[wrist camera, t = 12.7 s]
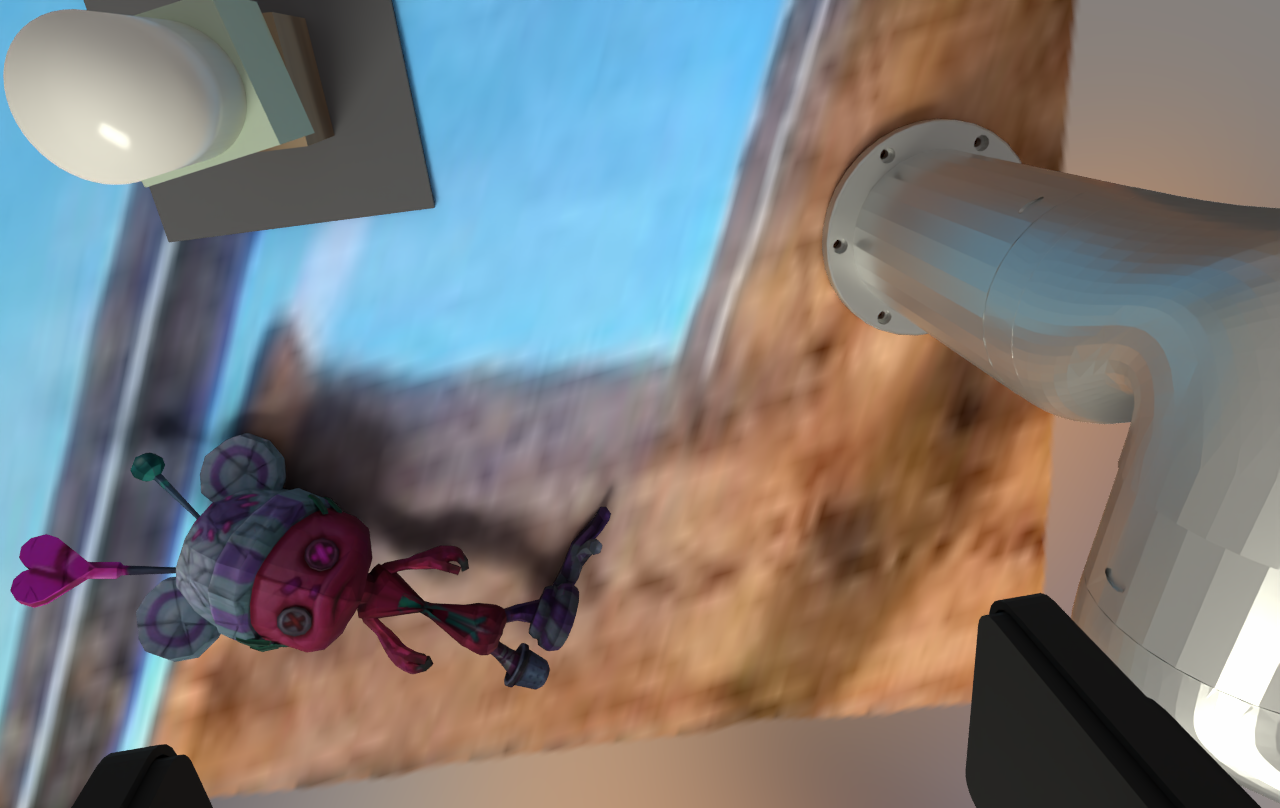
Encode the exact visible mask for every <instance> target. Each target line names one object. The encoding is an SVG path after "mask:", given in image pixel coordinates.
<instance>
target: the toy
mask: <svg viewBox="0 0 1280 808" xmlns="http://www.w3.org/2000/svg"><path fill="white" fill-rule="evenodd" d="M164 466H165V464H164V461H163V458H161V457H159V456H158V455H156V454H153V453H145V454H142V455H140V456H138V457H136V458H135V460H134V463H133V465H132V468H131V472H132V474H133V476H134V477H135V478H137V479H140V480H142V481H151V480H155V481H156V482H157V483H158V484H159V485H160V486H161V487H162V488H163V489H165V490H166V491H167V492H168V493H169V494H170V495H171V496H172V497H173V498H174V499H176V500H177V501H178V502H179V503H180V504H181V505H182V506H183V507H184V508H185V509H186V510H188V511H189V512H190V513H191V514H192V515H193V516H194V517H195V518H196V519H197V520H196V521H195V522H194V524H193V526H192V528H191V529H190V531H189V533H188V534H187V536H186V538H185V540H184V543H183V547H182V550H181V553H180V556H179V559H178V562H177V566H176V568H175V567H149V566H124V565H122V564H121V563H120V562H87V561H86V560H85V559H84V558H82V557H81V556H80V555H79V554H77V553H76V552H75V551H74V550H72V549H71V548H70V547H69V546H67V545H66V544H65V543H64V542H62V541H61V540H60V539H59V538H57V537H53V536H50V535H47V534H46V535H42V536H38V537H34V538H31V539H30V540H29V541H27V542H26V543H25V544H24V545H23V546H22V547H21V551H20V556H19V558H20V560H21V561H22V563H23V564H24V565H25V566H26V567H27V568H28V569H29V570H26V571H23V572H22V573H20V574H19V575H18V576H17V577H16V578H15V579H14V580H13V583H12V587H11V590H10V591H11V593H12V594H13V596H14V597H15V599H16V600H17V601H18V602H19V603H21V604H24V605H27V606H31V607H34V608H35V607H38V606H42V605H45V604H48V603H50V602H51V601H53V600H55V599H56V598H58V597H60V596H61V595H63V594H64V593H66V592H68V591H69V590H71V589H72V588H74V587H76V586H77V585H79V584H80V583H82V582H84V581H85V580H87V579H117V578H118V577H120V576H121V575H140V574H166V573H176V577H170V578H167V579H165V580H163V581H162V582H161V583H160V584H158V585H157V586H156V587H155V588H154V589H153V590H152V591H151V592H149V593H148V594H147V595H146V597H145V598H144V600H143V602H142V603H141V605H140V607H139V608H138V610H137V612H136V615H137V625H138V635H139V640H140V642H141V644H142V646H143V648H144V650H145V651H146V652H149V653H152V654H154V655H157V656H160V657H163V658H166V659H168V660H171V661H174V662H176V661H182V660H187V659H193V658H198V657H200V656H201V655H202V654H203V653H204V652H205V651H206V650H207V649H208V648H209V647H210V646H211V645H212V644H213V643H214V642H215V641H216V640H217V639H218V638H219V636H220V634H223V635H225V636H227V637H229V638H232V639H234V640H237V641H238V642H240V643H242V644H245V645H248V646H250V648H252V649H255V650H258V651H261V652H264V651H269V650H273V649H278V648H279V647H292V648H295V649H298V650H301V651H305V652H313V651H319V650H325V649H326V648H327V647H328V646H329V645H330V644H331V643H332V642H333V641H334V640H336V639H337V638H338V637H339V636H340V635H341V634H342V633H343V631H344V629H345V628H346V626H347V624H348V622H349V621H350V619H351V618H352V616H353V615H354V613H355V611H356V609H357V611H358V616H359V618H362V620H363V622H364V623H365V624H366V625H367V626H368V627H369V628H370V629H371V630H372V631H373V632H375V633H376V635H377V636H378V638H379V640H380V642H381V644H382V646H383V648H384V650H385V652H386V653H387V655H388V657H389V658H390V659H391V661H392V662H393V663H394V664H395V665H396V666H397V667H399V668H400V669H402V670H403V671H405V672H408V673H410V674H416V673H420V672H424V671H426V670H427V669H429V668H430V667H431V666H432V665H433V662H432V660H431V658H430V656H426V655H425V654H423V653H418V652H416V651H414V650H412V649H410V648H408V647H406V646H405V645H404V644H403V643H402V642H401V641H400V639H399V638H398V637H397V636H396V635H395V634H394V633H393V632H392V631H391V630H390V629H389V628H387V627H386V626H385V625H384V624H383V623H382V622H381V621H380V620H379V619H378V618H383V617H390V616H397V615H404V614H411V613H418V612H420V613H422V614H424V615H425V616H427V617H429V618H430V619H432V620H433V621H434V622H435V623H436V624H437V625H439V626H440V627H441V628H442V629H443V630H444V631H445V632H447V633H448V634H449V635H450V636H451V637H452V638H454V639H455V640H456V641H457V642H458V643H459V644H461V645H462V646H464V647H466V648H468V649H469V650H471V651H473V652H475V653H477V654H479V655H489V654H491V655H493V656H494V657H495V658H496V659H497V660H498V661H499V662H500V663H501V665H502V666H503V667H504V668H505V670H506V671H507V672H506V675H505V679H504V683H505V685H506V686H508V687H513V686H514V685H517V686H522V687H526V688H531V689H538V688H540V687H542V686H543V685H544V684H545V682H546V680H547V678H548V675H549V671H550V668H549V665H548V662H547V661H546V660H545V659H543V658H542V657H540V656H539V655H537V654H535V653H534V652H532V651H531V650H529V645H527V644H525V643H521V645H520V646H519V647H518V648H517V650H516V651H515V650H513V649H510V648H509V647H507V646H506V645H504V644H502V643H501V642H499V640H500V637H501V636H502V634H503V629H504V627H505V624H506V623H508V622H512V621H523V622H529V623H531V624H530V628H529V634H530V635H531V636H532V637H533V638H535V639H537V640H538V645H539V646H540V647H542V648H543V649H545V650H547V651H554V650H559V649H560V648H561V647H562V646H563V644H564V643H565V641H566V639H567V638H568V636H569V633H570V631H571V628H572V626H573V623H574V619H575V616H576V612H577V608H578V603H579V591H578V588H577V587H575V586H574V584H575V583H576V581H577V580H578V578H579V575H580V572H581V569H582V566H583V565H584V564H585V562H586V561H587V560H588V559H589V557H590V556H591V555H592V554H593V555H595V554H598V553H600V552H601V549H602V544H601V543H600V542H599V541H598V540H597V539H595V538H596V537H597V536H598V535H599V534H600V532H601V531H602V530H603V528H604V527H605V525H606V524H607V522H608V521H609V519H610V515H611V513H610V511H609V510H608V509H607V507H600V508H599V510H598V512H597V513H596V515H595V517H594V518H593V519H592V520H591V521H590V522H589V524H588V525H587V526H586V527H585V528H584V529H583V530H582V531H581V532H580V534H579V535H578V536H577V537H576V538H575V540H574V541H573V542H572V544H571V546H570V549H569V551H568V553H567V556H566V558H565V562H564V564H563V566H562V568H561V570H560V572H559V574H558V576H557V578H556V580H555V582H554V584H553V585H552V586H548V587H545V589H544V591H543V593H542V595H541V597H540V599H539V600H535V601H531V602H526V603H522V604H517V605H514V606H511V607H508V608H505V609H503V608H502V607H500V606H498V605H493V604H484V603H475V604H467V605H457V604H437V603H429V602H426V601H424V600H423V599H422V598H421V597H420V596H419V595H418V594H417V593H416V592H415V591H414V590H413V589H412V588H411V587H410V586H409V585H408V584H407V583H406V582H405V581H404V580H403V578H402V577H401V576H400V575H399V574H398V573H397V572H398V571H402V570H408V569H439V570H442V571H446V572H449V573H453V574H456V575H458V574H459V571H460V569H461V570H462V572H463V571H465V570H467V569H469V566H468V559H467V558H466V556H465V555H464V553H463V552H462V550H461V549H460V548H458V547H455V546H437V547H435V548H432V549H430V550H427V551H424V552H421V553H418V554H415V555H413V556H411V557H409V558H405V559H400V560H395V561H391V562H386V563H384V564H382V565H380V564H378V565H376V566H375V567H374V568H373V569H372V571H371V572H370V573H368V572H369V568H370V565H371V561H372V551H371V542H370V533H369V528H368V527H366V526H365V525H364V524H363V523H362V522H361V521H360V520H359V519H358V518H357V517H355V516H352V515H350V514H347V513H345V512H342V510H341V509H340V508H339V507H338V506H337V505H336V504H335V502H334V501H333V500H331V499H330V498H327V497H324V498H322V497H320V496H317V495H315V494H312V493H310V492H307V491H305V490H302V489H300V488H296V489H293V490H287V489H283V485H284V483H285V480H286V469H285V459H284V457H283V456H282V455H281V453H280V452H279V451H278V450H277V449H276V447H275V446H274V445H273V444H272V443H271V441H270V440H267V439H264V438H261V437H258V436H255V435H252V434H249V433H245V434H242V435H239V436H236V437H232V438H230V439H227V440H226V441H224V442H223V443H222V444H220V445H219V446H218V447H217V448H215V449H214V450H213V451H211V452H210V453H209V454H208V455H206V456H205V458H204V462H203V465H202V469H201V472H200V480H201V493H202V494H203V495H204V496H206V497H207V498H208V499H210V500H211V501H212V502H213V503H212V504H211V505H210V506H209V507H208V508H207V509H206V510H205V511H204V513H203V514H202V515H201V516H200V515H199V514H198V513H197V512H196V511H195V510H194V509H193V508H192V507H191V505H190V504H189V503H188V502H187V501H186V500H185V499H184V498H183V497H182V496H181V495H180V494H179V493H178V491H177V490H176V489H175V488H174V487H173V486H172V485H171V484H170V483H169V482H168V481H167V480H166V479H165V478H164V476H163V475H162V474H161V473H162V471H163V469H164ZM450 561H456V562H458V563H459V564H460V565H461V567H459V566H457V565H454V564H451V563H449V562H450Z"/></svg>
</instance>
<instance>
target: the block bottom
mask: <svg viewBox="0 0 1280 808" xmlns="http://www.w3.org/2000/svg"><path fill="white" fill-rule="evenodd" d="M262 15H263V17H264V19H265V22H266V24H267V26H268V28H269V31H270V33H271V35H272V38H273V40H274V42H275V44H276V47H277V49H278V51H279V53H280V56H281V58H282V60H283V62H284V65H285V67H286V69H287V71H288V74H289V76H290V78H291V80H292V83H293V85H294V87H295V89H296V92H297V94H298V96H299V99H300V101H301V103H302V105H303V108H304V110H305V112H306V114H307V117H308V119H309V121H310V123H311V126H312V128H313V130H314V132H315V133H313V134H310V135H307V136H304V137H301V138H298V139H295V140H292V141H289V142H287V143H284V144H281V145H278V146H274V147H271V148H268V149H265V150H262V151H259V152H264V151H273V150H281V149H289V148H297V147H305V146H309V145H312V144H315V143H317V142H320V141H322V140H325V139H327V138H330V137H333V136H335V135H334V131H333V127H332V123H331V119H330V115H329V111H328V107H327V104H326V100H325V96H324V92H323V88H322V84H321V80H320V76H319V72H318V68H317V64H316V60H315V56H314V52H313V48H312V44H311V40H310V36H309V32H308V28H307V24H306V20H305V18H301V17H296V16H291V15H285V14H280V13H275V12H267V13H262Z"/></svg>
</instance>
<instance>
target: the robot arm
mask: <svg viewBox="0 0 1280 808" xmlns="http://www.w3.org/2000/svg"><path fill="white" fill-rule="evenodd" d="M976 139H977V143H976V145H975V146H974V143H975V140H976ZM883 150H885V156H884V157H883V158H880V155H881V152H882V151H883ZM836 240H838V241H839V244H838V245H837V246H836V247H833V245H834V243H835V242H836ZM822 253H823V259H824V265H825V270H826V273H827V275H828V278H829V281H830V284H831V286H832V288H833V289H834V291H835V293H836V294H837V296H838V297H839V299H840V300H841V302H842V303H843V304H844V305H845V306H846V307H847V308H848V309H849V310H850V311H851V312H852V313H853V314H855V315H856V316H857V317H859V318H860V319H862V320H863V321H864V322H865V323H867V324H869V325H871V326H873V327H875V328H877V329H879V330H882V331H886V332H890V333H894V334H898V335H923V334H930V335H931V336H933V337H934V338H936V339H937V340H939V341H940V342H941V343H943V344H944V345H946V346H947V347H949V348H950V349H952V350H953V351H955V352H956V353H958V354H959V355H960V356H962V357H963V358H965V359H966V360H968V361H969V362H971V363H972V364H974V365H975V366H977V367H978V368H980V369H981V370H982V371H984V372H985V373H987V374H988V375H990V376H991V377H993V378H994V379H996V380H997V381H999V382H1000V383H1002V384H1003V385H1004V386H1006V387H1007V388H1009V389H1010V390H1012V391H1013V392H1015V393H1016V394H1018V395H1020V396H1021V397H1023V398H1024V399H1026V400H1027V401H1029V402H1030V403H1032V404H1034V405H1035V406H1037V407H1039V408H1041V409H1043V410H1045V411H1046V412H1049V413H1051V414H1054V415H1056V416H1059V417H1062V418H1065V419H1069V420H1073V421H1080V422H1086V423H1099V424H1114V423H1125V422H1131V424H1130V428H1129V432H1128V435H1127V438H1126V440H1125V443H1124V446H1123V449H1122V452H1121V455H1120V458H1119V461H1118V468H1119V469H1118V472H1117V475H1116V478H1115V481H1114V484H1113V487H1112V490H1111V492H1110V495H1109V498H1108V501H1107V504H1106V507H1105V510H1104V513H1103V515H1102V519H1101V521H1100V524H1099V527H1098V530H1097V533H1096V536H1095V538H1094V541H1093V544H1092V548H1091V550H1090V553H1089V556H1088V559H1087V562H1086V565H1085V567H1084V571H1083V573H1082V576H1081V579H1080V582H1079V585H1078V589H1077V593H1076V597H1075V601H1074V605H1073V608H1072V615H1071V618H1070V617H1069V616H1068V615H1067V614H1066V613H1065V612H1064V611H1063V610H1062V609H1061V608H1060V607H1059V606H1058V605H1057V603H1056V602H1055V601H1054V600H1052V599H1051V598H1050V597H1049V596H1047V595H1045V594H1042V593H1038V594H1033V595H1027V596H1021V597H1015V598H1009V599H1004V600H998V601H995V602H994V603H993V604H992V606H991V608H990V612H989V615H985V616H982V617H981V618H980V620H979V624H978V634H977V646H976V657H975V669H974V680H973V692H972V703H971V715H970V726H969V738H968V750H967V761H966V781H967V786H968V789H969V793H970V795H971V798H972V800H973V802H974V804H975V806H976V808H1261V807H1260V806H1259V805H1258V804H1257V803H1256V802H1255V801H1254V800H1253V799H1252V798H1251V797H1250V796H1249V795H1248V794H1247V793H1246V792H1245V790H1244V789H1243V788H1242V787H1241V786H1243V787H1245V788H1247V789H1249V790H1251V791H1254V792H1256V793H1258V794H1260V795H1262V796H1265V797H1267V798H1269V799H1271V800H1274V801H1276V802H1278V803H1280V208H1267V207H1255V206H1241V205H1233V204H1226V203H1219V202H1211V201H1204V200H1198V199H1193V198H1187V197H1181V196H1176V195H1171V194H1166V193H1161V192H1156V191H1151V190H1146V189H1141V188H1136V187H1130V186H1125V185H1120V184H1115V183H1110V182H1105V181H1101V180H1096V179H1091V178H1087V177H1082V176H1077V175H1072V174H1068V173H1063V172H1058V171H1053V170H1049V169H1044V168H1039V167H1034V166H1029V165H1025V164H1022V163H1021V161H1020V159H1019V157H1018V156H1017V155H1016V154H1015V152H1014V151H1013V150H1012V149H1011V147H1010V146H1009V145H1008V144H1007V143H1006V142H1005V141H1004V140H1002V139H1001V138H1000V137H999V136H997V135H996V134H995V133H994V132H992V131H990V130H988V129H986V128H983V127H981V126H979V125H977V124H974V123H969V122H964V121H959V120H950V119H932V120H924V121H918V122H915V123H912V124H909V125H906V126H903V127H900V128H897V129H896V130H894V131H892V132H890V133H889V134H887V135H885V136H883V137H881V138H880V139H878V140H877V141H876V142H875V143H873V144H872V145H871V146H870V147H868V148H867V149H866V150H865V151H864V152H862V153H861V154H860V156H859V157H858V158H857V159H856V160H855V161H854V162H853V164H852V165H851V166H850V167H849V168H848V169H847V171H846V172H845V174H844V176H843V177H842V179H841V180H840V182H839V184H838V185H837V187H836V189H835V191H834V193H833V196H832V198H831V201H830V203H829V206H828V208H827V212H826V217H825V222H824V226H823V237H822ZM881 312H882V314H881V316H879V317H878V315H879V314H880V313H881ZM72 808H213V807H212V805H211V802H210V800H209V798H208V796H207V794H206V792H205V790H204V787H203V785H202V783H201V781H200V779H199V777H198V774H197V772H196V770H195V768H194V766H193V764H192V762H191V760H190V759H189V757H187V756H186V755H177V754H176V753H175V751H174V750H173V748H172V747H170V746H168V745H167V744H164V745H156V746H150V747H144V748H138V749H133V750H127V751H121V752H115V753H110V754H109V755H107V756H106V757H104V758H103V759H102V760H101V762H100V763H99V764H98V765H97V767H96V769H95V770H94V772H93V773H92V775H91V777H90V778H89V780H88V782H87V783H86V785H85V786H84V788H83V790H82V791H81V793H80V795H79V796H78V798H77V799H76V801H75V803H74V804H73V806H72Z"/></svg>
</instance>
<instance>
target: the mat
mask: <svg viewBox="0 0 1280 808" xmlns="http://www.w3.org/2000/svg"><path fill="white" fill-rule="evenodd" d="M178 1H181V0H84V3H85V6H86V9H87V11H96V12H104V13H113V14H122V15H131V16H134V15H137V14H140V13H143V12H147V11H150V10H153V9H156V8H159V7H162V6H165V5H169V4H172V3H175V2H178ZM250 1H255V2H257V4H258V6H259V8H260V10H261V13H267V12H275V13H280V14H285V15H291V16H296V17H301V18H305V20H306V24H307V28H308V32H309V36H310V40H311V44H312V48H313V52H314V56H315V60H316V64H317V68H318V72H319V76H320V80H321V84H322V88H323V92H324V96H325V100H326V104H327V107H328V111H329V115H330V119H331V123H332V127H333V131H334V135H335V136H333V137H330V138H327V139H325V140H322V141H320V142H317V143H315V144H312V145H309V146H305V147H297V148H289V149H281V150H273V151H264V152H256V153H252V154H249V155H246V156H243V157H240V158H237V159H234V160H230V161H227V162H224V163H221V164H218V165H215V166H212V167H209V168H205V169H202V170H199V171H196V172H193V173H190V174H187V175H183V176H180V177H177V178H174V179H171V180H168V181H165V182H161V183H158V184H155V185H152V186H149V187H150V190H151V193H152V196H153V199H154V202H155V204H156V207H157V210H158V213H159V216H160V219H161V221H162V224H163V227H164V230H165V233H166V236H167V238H168V241H169V242H175V241H183V240H191V239H198V238H206V237H214V236H221V235H229V234H237V233H244V232H252V231H260V230H268V229H275V228H283V227H291V226H298V225H306V224H314V223H321V222H329V221H337V220H344V219H352V218H360V217H368V216H375V215H383V214H391V213H398V212H406V211H414V210H421V209H429V208H435V204H434V199H433V194H432V189H431V185H430V180H429V175H428V170H427V166H426V161H425V156H424V151H423V146H422V142H421V137H420V132H419V127H418V123H417V118H416V113H415V108H414V104H413V99H412V94H411V89H410V85H409V80H408V75H407V70H406V66H405V61H404V56H403V51H402V47H401V42H400V37H399V32H398V27H397V23H396V18H395V13H394V8H393V4H392V0H250Z"/></svg>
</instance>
